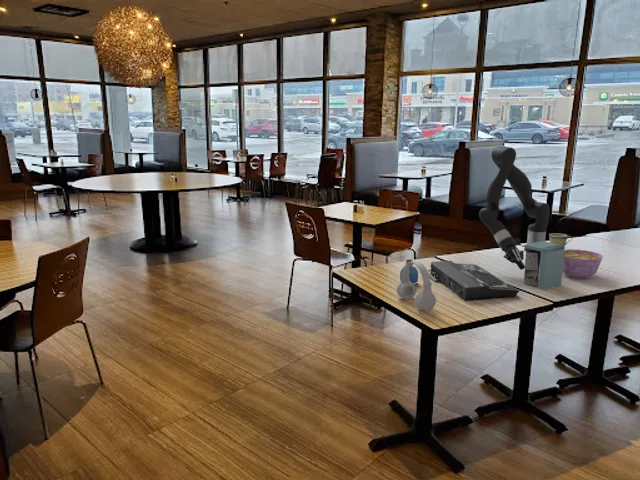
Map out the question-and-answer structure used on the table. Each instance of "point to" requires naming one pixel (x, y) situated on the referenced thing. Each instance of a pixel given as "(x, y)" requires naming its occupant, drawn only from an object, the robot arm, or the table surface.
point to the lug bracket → (548, 263)
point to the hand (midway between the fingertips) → (523, 268)
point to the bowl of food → (581, 263)
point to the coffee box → (532, 267)
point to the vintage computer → (471, 281)
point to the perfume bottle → (411, 273)
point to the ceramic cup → (558, 238)
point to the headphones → (408, 289)
